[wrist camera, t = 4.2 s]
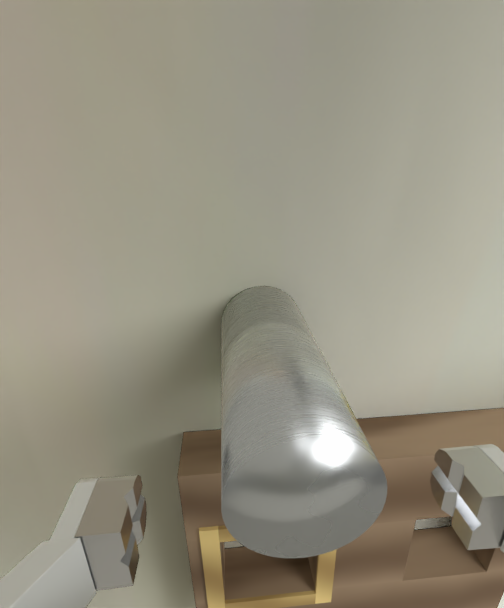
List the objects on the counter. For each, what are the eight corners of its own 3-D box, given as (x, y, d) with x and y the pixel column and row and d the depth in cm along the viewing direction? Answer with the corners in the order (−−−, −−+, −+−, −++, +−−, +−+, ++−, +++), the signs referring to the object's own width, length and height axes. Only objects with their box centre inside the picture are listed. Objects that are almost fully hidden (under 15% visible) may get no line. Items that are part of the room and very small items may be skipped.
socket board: (183, 432, 20) (176, 480, 17) (518, 406, 21) (567, 447, 18) (203, 594, 25) (201, 651, 22) (466, 566, 27) (497, 616, 24)
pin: (219, 288, 17) (216, 445, 7) (301, 283, 17) (398, 431, 8) (223, 360, 18) (225, 565, 9) (299, 355, 18) (377, 550, 9)
